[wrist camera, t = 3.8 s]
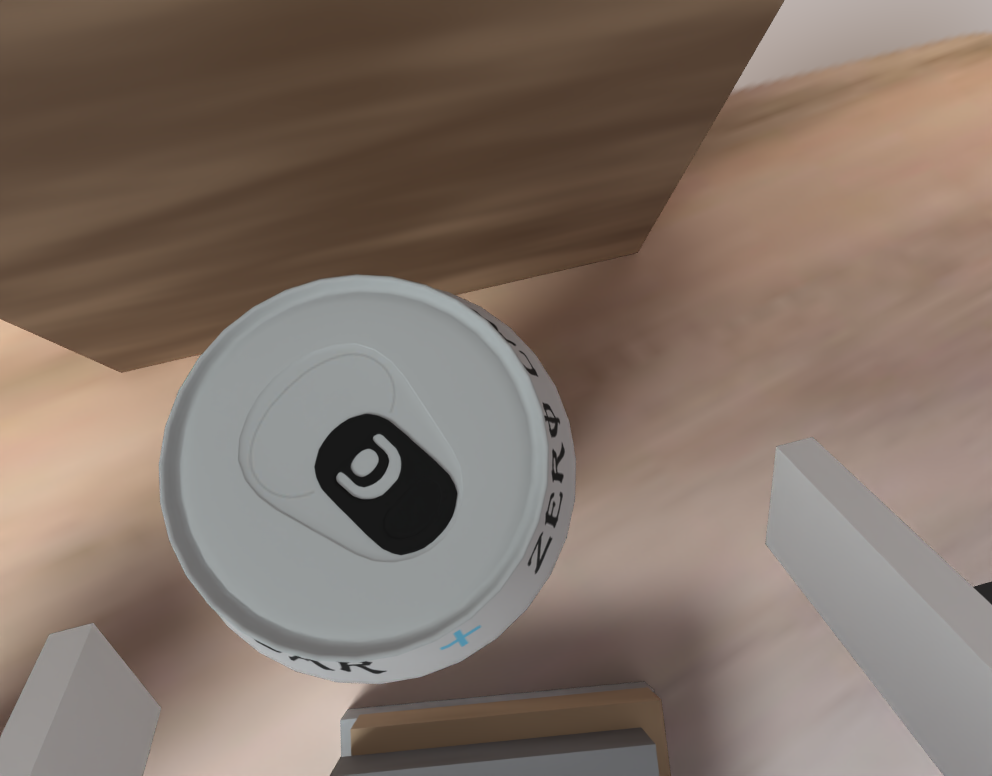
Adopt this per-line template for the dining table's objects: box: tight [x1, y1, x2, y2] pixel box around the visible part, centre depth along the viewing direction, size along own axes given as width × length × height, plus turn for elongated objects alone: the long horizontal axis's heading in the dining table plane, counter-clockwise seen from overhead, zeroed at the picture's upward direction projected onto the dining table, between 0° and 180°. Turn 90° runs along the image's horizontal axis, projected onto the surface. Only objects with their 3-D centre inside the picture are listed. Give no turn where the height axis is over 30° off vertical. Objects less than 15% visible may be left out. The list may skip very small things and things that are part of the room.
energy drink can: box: [159, 274, 576, 684], centre depth 15 cm, size 6×6×15 cm
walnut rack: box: [0, 0, 784, 373], centre depth 14 cm, size 7×21×21 cm, turn 105°
